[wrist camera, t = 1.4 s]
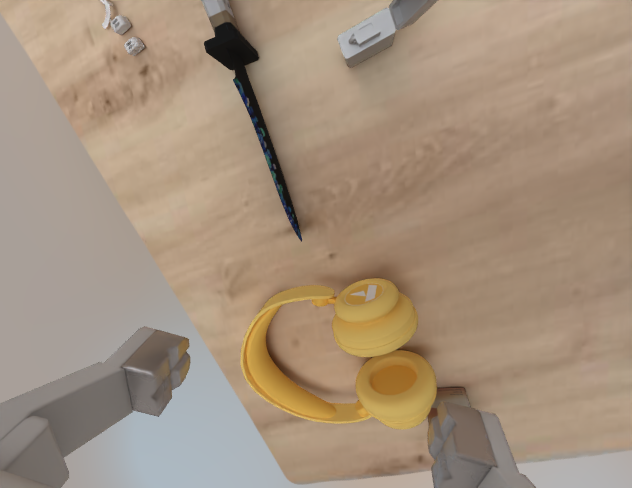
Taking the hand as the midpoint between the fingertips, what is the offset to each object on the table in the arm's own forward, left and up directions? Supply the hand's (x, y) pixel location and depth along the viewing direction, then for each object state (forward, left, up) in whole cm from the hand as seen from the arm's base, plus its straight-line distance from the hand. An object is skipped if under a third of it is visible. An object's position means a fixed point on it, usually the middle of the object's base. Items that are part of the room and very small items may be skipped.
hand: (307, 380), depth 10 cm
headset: (-1, +17, -25) cm, 30 cm away
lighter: (0, -15, -25) cm, 29 cm away
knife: (+11, -9, -25) cm, 28 cm away
